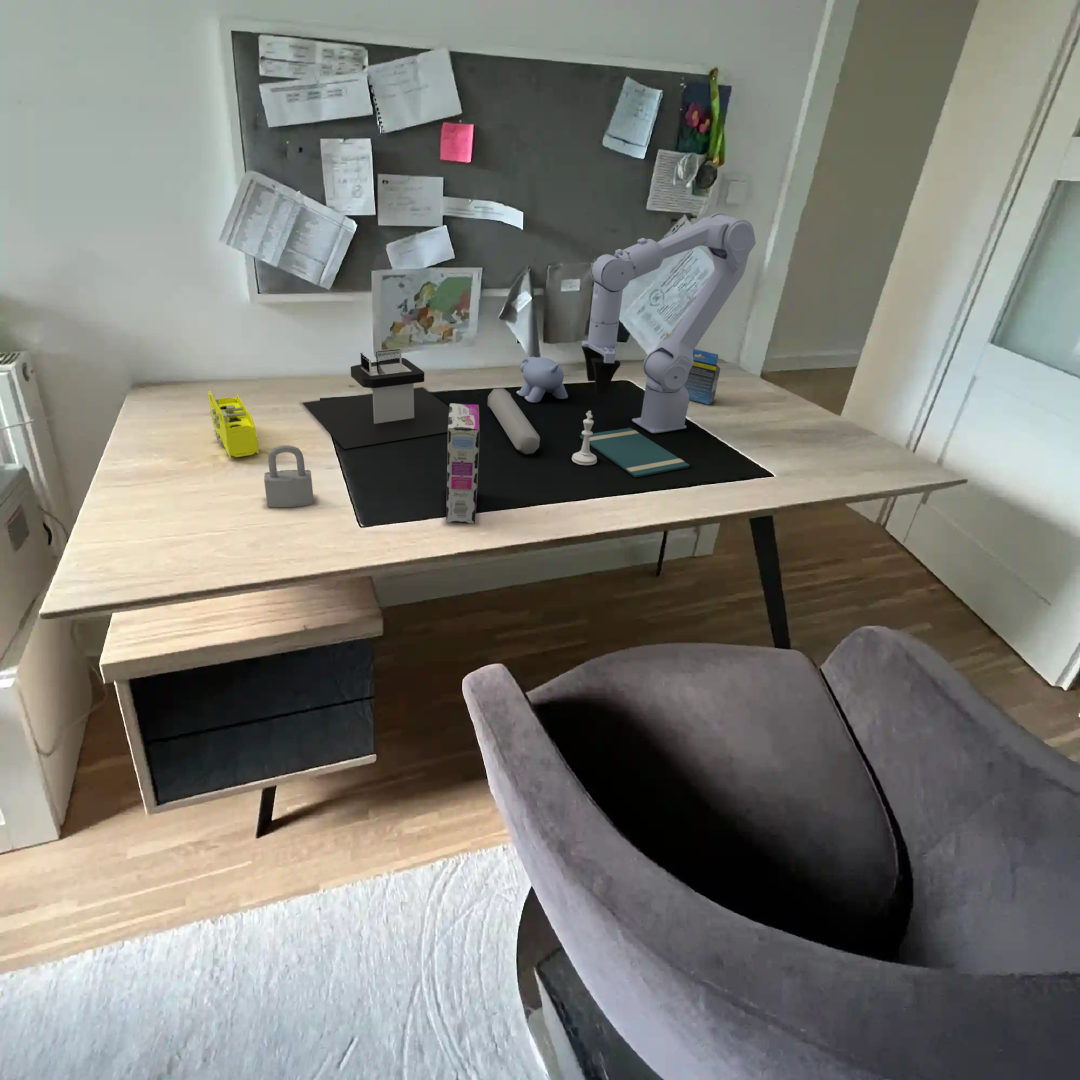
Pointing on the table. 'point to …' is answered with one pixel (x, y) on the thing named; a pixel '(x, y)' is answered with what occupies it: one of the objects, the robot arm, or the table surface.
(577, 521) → the table surface
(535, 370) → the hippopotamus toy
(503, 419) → the tube
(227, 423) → the yellow toy chassis
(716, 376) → the blue retail box
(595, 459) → the chess piece
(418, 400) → the black-topped pedestal
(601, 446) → the towel
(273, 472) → the padlock
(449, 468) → the candy bar box
